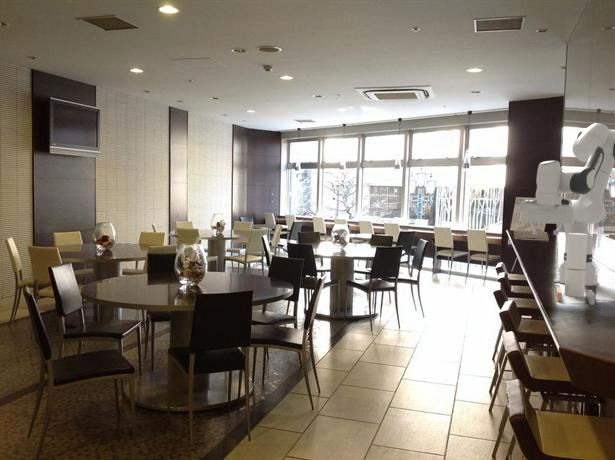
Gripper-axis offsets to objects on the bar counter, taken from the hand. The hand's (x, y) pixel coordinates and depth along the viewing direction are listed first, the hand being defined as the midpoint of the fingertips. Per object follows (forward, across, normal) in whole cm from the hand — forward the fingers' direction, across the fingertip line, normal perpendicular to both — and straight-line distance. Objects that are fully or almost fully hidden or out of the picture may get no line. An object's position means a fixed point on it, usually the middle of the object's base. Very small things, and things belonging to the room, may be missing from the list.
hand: (545, 234), depth 219 cm
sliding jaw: (+24, +3, -12) cm, 27 cm away
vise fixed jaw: (+24, +13, -15) cm, 31 cm away
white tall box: (+24, +12, -1) cm, 27 cm away
